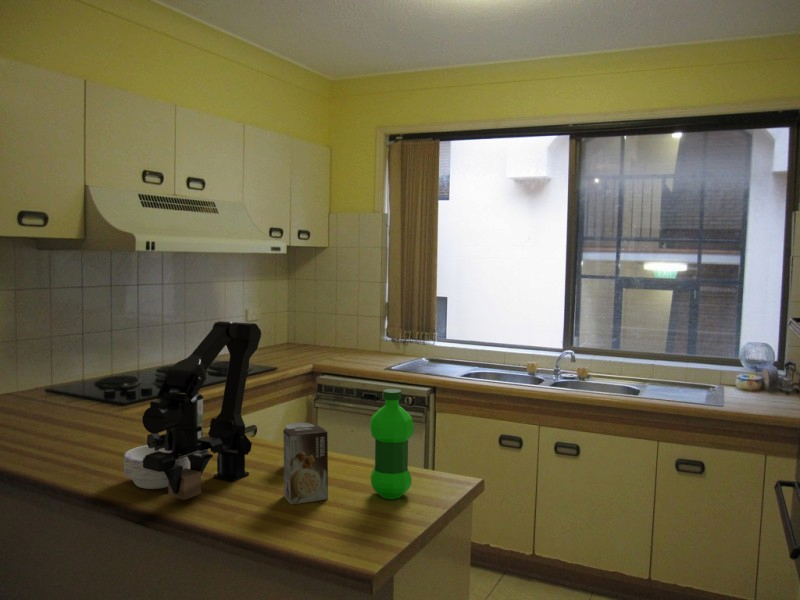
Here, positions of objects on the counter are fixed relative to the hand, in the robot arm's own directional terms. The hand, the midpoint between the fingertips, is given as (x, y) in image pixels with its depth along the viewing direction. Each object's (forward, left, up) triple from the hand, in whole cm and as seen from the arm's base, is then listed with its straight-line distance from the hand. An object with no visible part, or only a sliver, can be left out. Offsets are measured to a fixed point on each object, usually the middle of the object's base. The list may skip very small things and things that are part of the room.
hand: (184, 489), depth 149 cm
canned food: (-7, -33, -3) cm, 34 cm away
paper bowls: (+15, -5, -3) cm, 16 cm away
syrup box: (+33, -32, -3) cm, 46 cm away
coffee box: (-22, -16, -3) cm, 27 cm away
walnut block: (0, 0, -1) cm, 1 cm away
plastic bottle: (-38, -28, -3) cm, 47 cm away
